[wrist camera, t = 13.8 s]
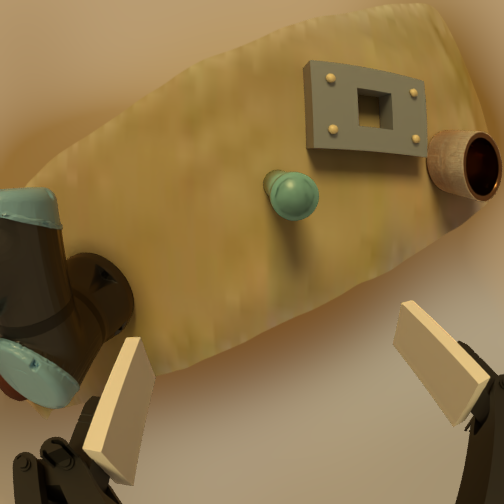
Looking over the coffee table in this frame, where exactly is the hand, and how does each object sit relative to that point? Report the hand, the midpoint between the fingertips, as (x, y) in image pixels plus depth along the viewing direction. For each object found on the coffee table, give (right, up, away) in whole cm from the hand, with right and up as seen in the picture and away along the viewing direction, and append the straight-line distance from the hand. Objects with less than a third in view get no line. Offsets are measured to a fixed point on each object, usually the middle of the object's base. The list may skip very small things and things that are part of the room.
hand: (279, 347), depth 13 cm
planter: (+32, +20, +26) cm, 46 cm away
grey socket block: (+15, +25, +23) cm, 37 cm away
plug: (+2, +14, +26) cm, 29 cm away
